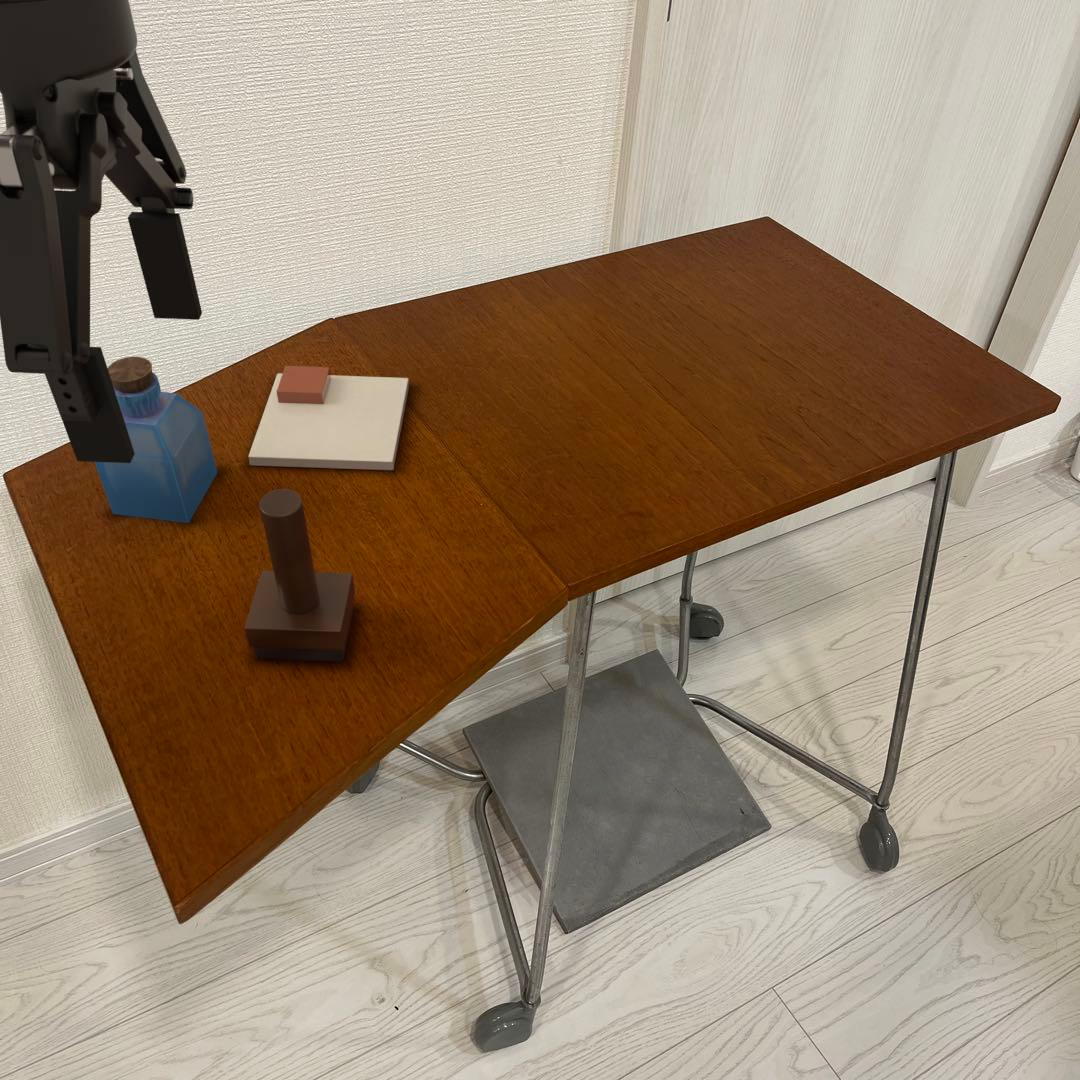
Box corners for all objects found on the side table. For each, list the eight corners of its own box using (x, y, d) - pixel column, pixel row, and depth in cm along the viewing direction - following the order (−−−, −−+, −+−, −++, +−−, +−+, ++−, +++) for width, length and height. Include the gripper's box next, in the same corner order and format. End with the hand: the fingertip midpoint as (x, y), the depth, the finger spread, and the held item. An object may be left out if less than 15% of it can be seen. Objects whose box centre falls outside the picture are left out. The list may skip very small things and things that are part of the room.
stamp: (252, 661, 70) (218, 530, 61) (269, 603, 74) (239, 472, 65) (345, 664, 70) (324, 534, 61) (357, 606, 74) (338, 475, 65)
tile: (249, 465, 84) (247, 456, 84) (278, 381, 93) (277, 372, 92) (393, 470, 85) (392, 461, 84) (409, 386, 93) (408, 377, 93)
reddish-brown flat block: (278, 402, 89) (276, 391, 88) (287, 376, 92) (285, 365, 91) (323, 404, 89) (321, 393, 88) (331, 378, 92) (329, 367, 91)
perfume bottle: (145, 464, 84) (107, 341, 76) (217, 472, 84) (186, 349, 75) (113, 513, 80) (68, 389, 71) (188, 523, 79) (152, 398, 71)
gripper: (-8, 72, 33) (146, 536, 48) (192, -108, 51) (259, 271, 66) (-238, 63, 33) (-12, 531, 48) (43, -114, 51) (144, 266, 66)
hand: (145, 381), depth 57 cm, fingers open, 13 cm apart
